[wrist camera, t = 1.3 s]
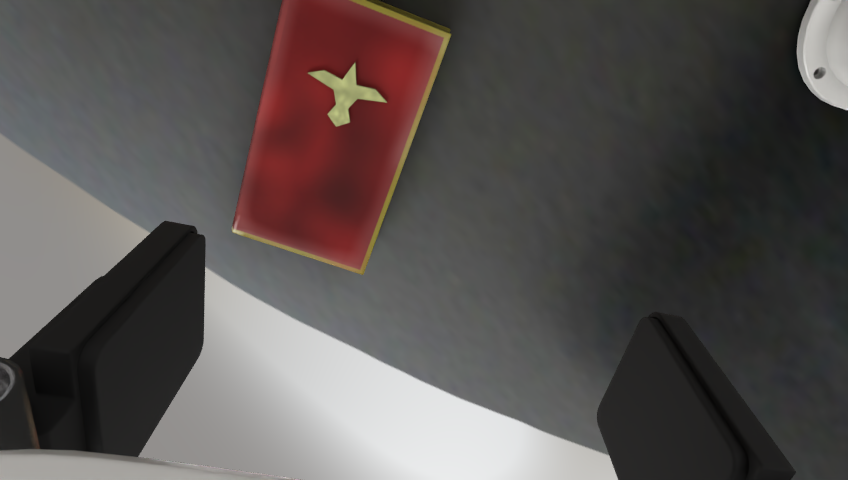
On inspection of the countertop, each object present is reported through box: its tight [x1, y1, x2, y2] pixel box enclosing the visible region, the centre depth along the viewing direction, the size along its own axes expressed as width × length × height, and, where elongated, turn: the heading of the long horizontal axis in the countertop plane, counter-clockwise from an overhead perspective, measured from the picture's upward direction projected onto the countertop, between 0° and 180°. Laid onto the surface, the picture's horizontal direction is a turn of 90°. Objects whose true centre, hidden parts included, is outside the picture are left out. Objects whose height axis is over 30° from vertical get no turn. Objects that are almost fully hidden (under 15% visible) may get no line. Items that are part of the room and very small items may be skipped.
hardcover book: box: [232, 0, 451, 275], centre depth 42 cm, size 12×21×4 cm, turn 160°
